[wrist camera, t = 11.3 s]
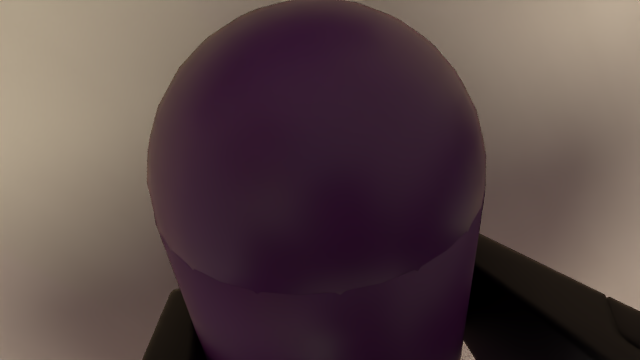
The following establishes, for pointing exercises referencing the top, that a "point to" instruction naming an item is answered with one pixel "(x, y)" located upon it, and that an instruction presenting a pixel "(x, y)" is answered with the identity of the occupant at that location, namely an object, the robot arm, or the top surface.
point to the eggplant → (320, 187)
